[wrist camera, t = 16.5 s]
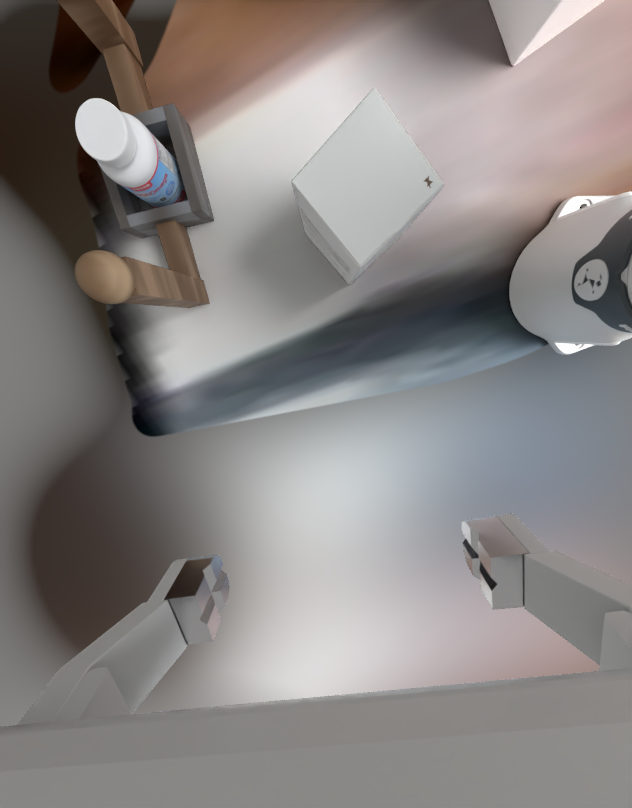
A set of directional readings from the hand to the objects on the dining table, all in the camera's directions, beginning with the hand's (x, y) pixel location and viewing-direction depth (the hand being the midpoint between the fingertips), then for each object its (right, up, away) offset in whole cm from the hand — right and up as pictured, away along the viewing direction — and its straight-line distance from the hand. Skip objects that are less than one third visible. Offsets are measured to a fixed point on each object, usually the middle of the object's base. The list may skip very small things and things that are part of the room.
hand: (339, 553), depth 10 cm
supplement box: (+4, +27, +28) cm, 39 cm away
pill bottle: (-19, +32, +27) cm, 46 cm away
